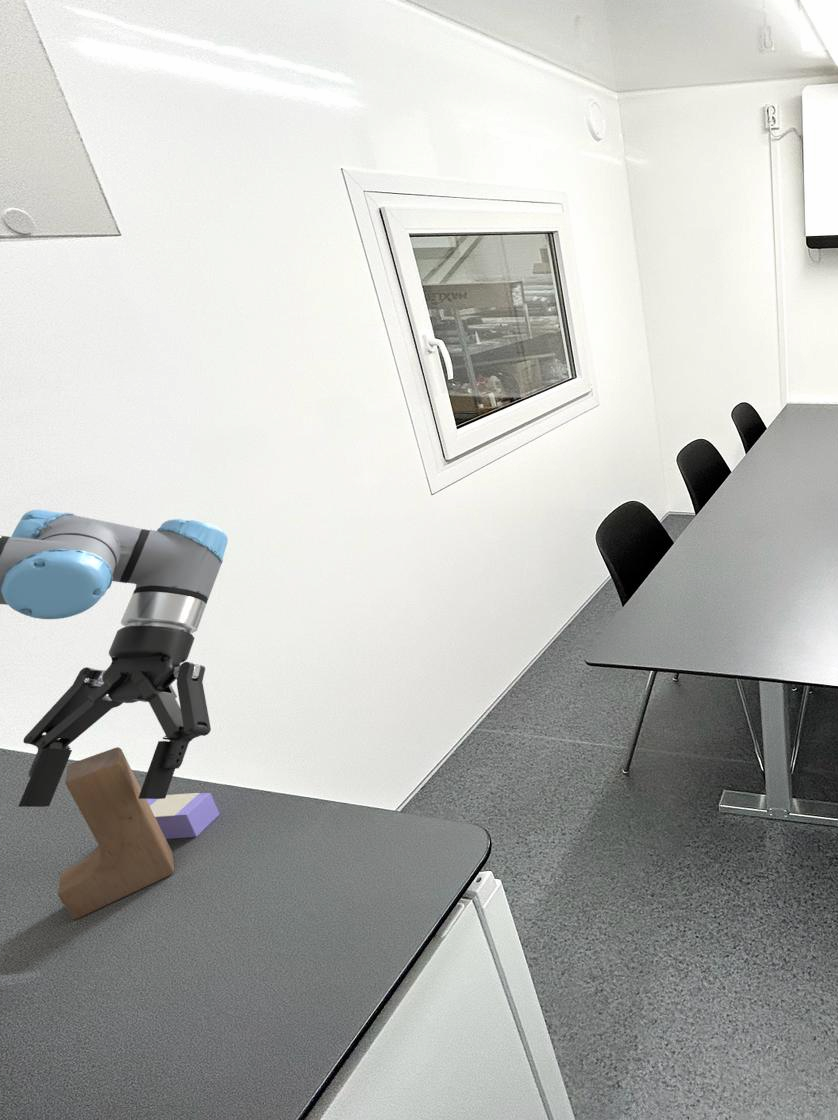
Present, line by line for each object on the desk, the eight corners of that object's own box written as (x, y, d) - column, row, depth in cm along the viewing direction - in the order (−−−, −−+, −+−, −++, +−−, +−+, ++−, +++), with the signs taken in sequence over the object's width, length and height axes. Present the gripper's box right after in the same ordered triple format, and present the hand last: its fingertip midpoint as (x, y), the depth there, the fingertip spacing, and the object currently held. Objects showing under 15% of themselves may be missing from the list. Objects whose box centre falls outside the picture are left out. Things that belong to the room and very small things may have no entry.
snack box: (120, 842, 85) (108, 820, 84) (147, 819, 89) (136, 797, 88) (196, 837, 86) (185, 814, 84) (220, 814, 90) (210, 791, 88)
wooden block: (72, 922, 74) (2, 804, 68) (75, 898, 77) (8, 784, 71) (175, 874, 80) (119, 762, 74) (174, 854, 83) (119, 744, 77)
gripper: (274, 632, 88) (225, 795, 79) (90, 643, 87) (18, 809, 78) (231, 617, 81) (172, 794, 72) (31, 628, 80) (-55, 809, 71)
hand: (92, 802), depth 75 cm, fingers open, 13 cm apart
